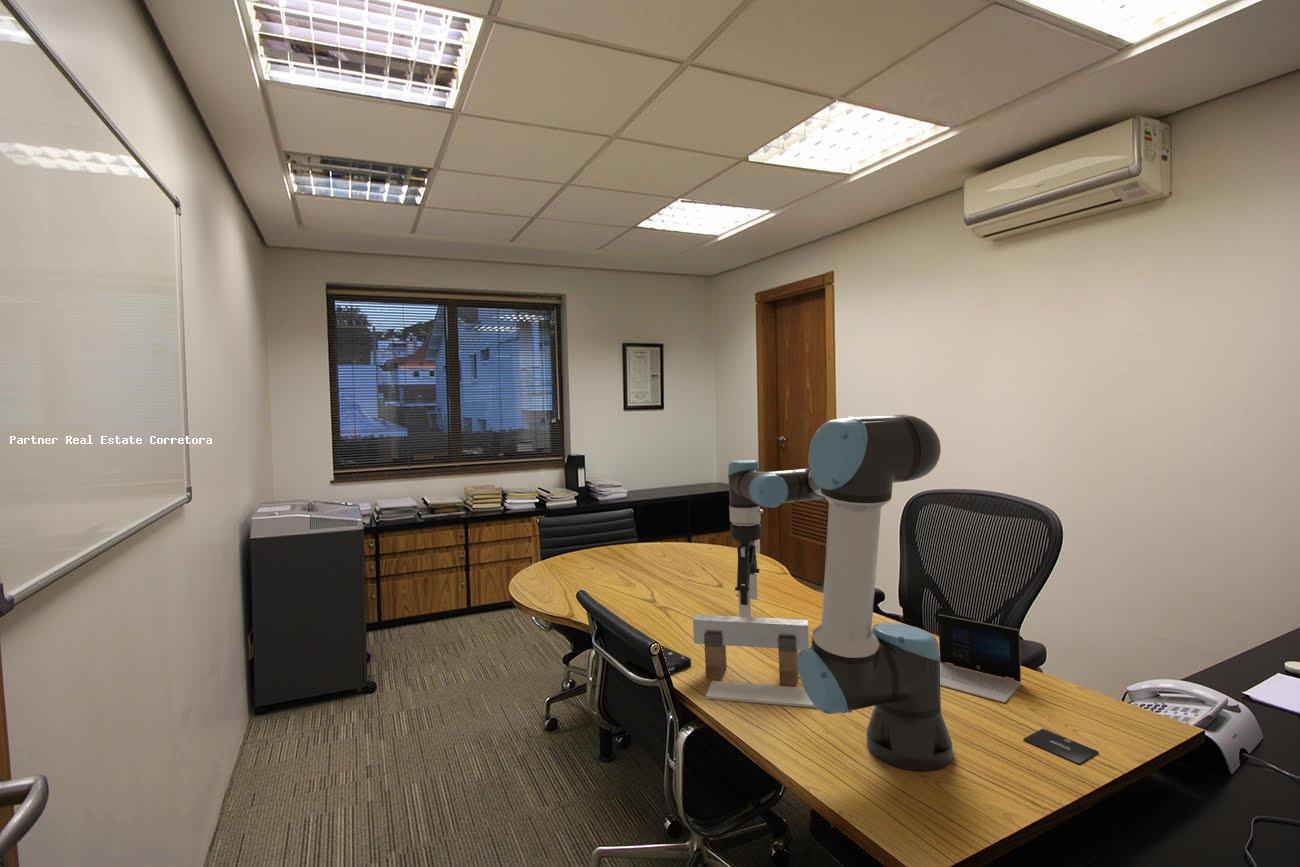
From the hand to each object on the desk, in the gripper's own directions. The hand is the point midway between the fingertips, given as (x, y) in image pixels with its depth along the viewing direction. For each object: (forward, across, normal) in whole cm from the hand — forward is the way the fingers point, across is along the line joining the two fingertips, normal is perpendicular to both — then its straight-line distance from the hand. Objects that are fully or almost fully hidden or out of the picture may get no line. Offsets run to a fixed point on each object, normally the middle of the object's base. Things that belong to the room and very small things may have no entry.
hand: (748, 607), depth 152 cm
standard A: (+17, 0, -9) cm, 19 cm away
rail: (+9, 0, 0) cm, 9 cm away
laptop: (+17, +4, -50) cm, 53 cm away
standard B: (+17, 0, +9) cm, 19 cm away
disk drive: (+18, +2, +25) cm, 31 cm away
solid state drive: (+17, -21, -60) cm, 66 cm away
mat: (+17, -10, -7) cm, 21 cm away
